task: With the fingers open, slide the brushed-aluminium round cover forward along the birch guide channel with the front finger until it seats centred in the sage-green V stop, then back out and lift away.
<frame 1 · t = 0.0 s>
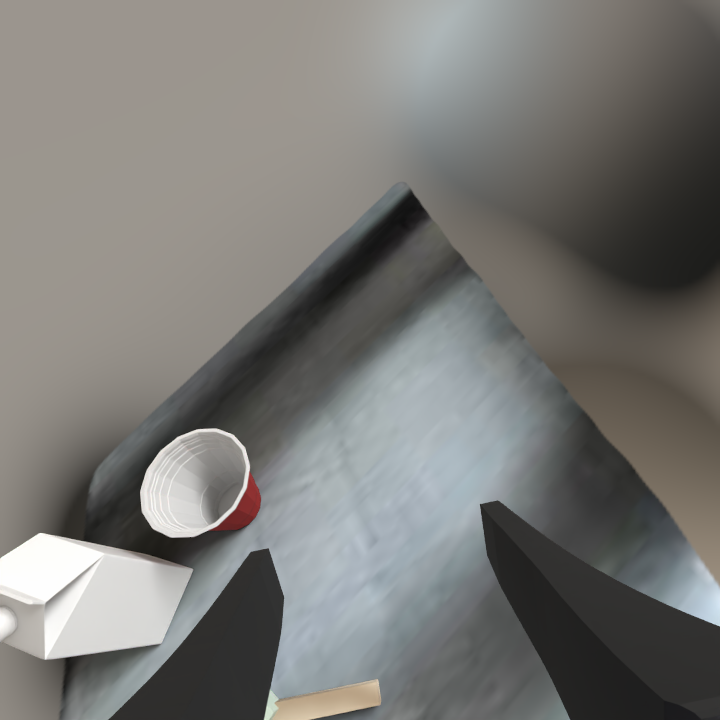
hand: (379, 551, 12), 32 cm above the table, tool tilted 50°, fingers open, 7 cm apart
milk carton: (154, 595, 41), on the table
plastic cup: (241, 505, 45), on the table
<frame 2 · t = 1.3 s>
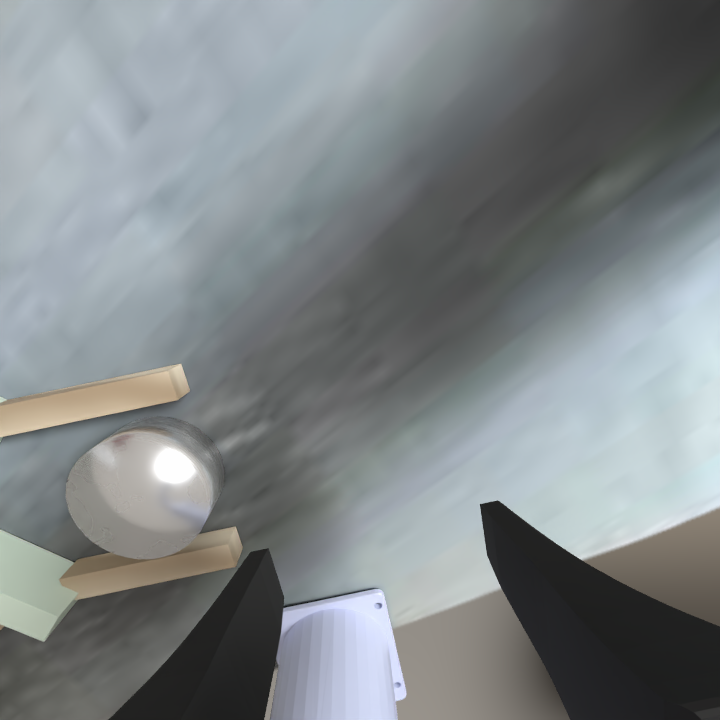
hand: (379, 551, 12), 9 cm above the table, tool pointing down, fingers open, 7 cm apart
aluminium cover: (165, 470, 21), on the table
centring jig: (47, 496, 21), on the table
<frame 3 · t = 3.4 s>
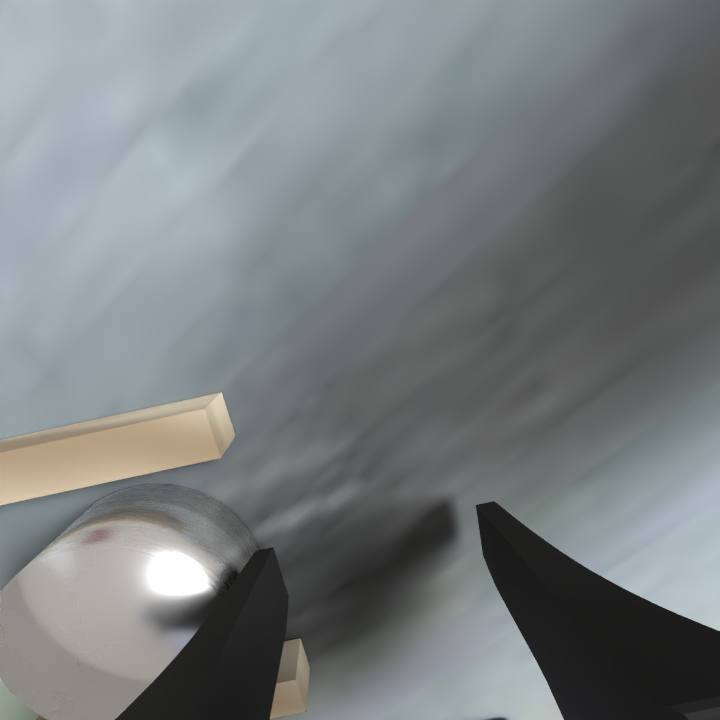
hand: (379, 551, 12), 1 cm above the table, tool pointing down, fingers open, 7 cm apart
aluminium cover: (166, 567, 13), on the table, touching gripper
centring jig: (7, 601, 13), on the table
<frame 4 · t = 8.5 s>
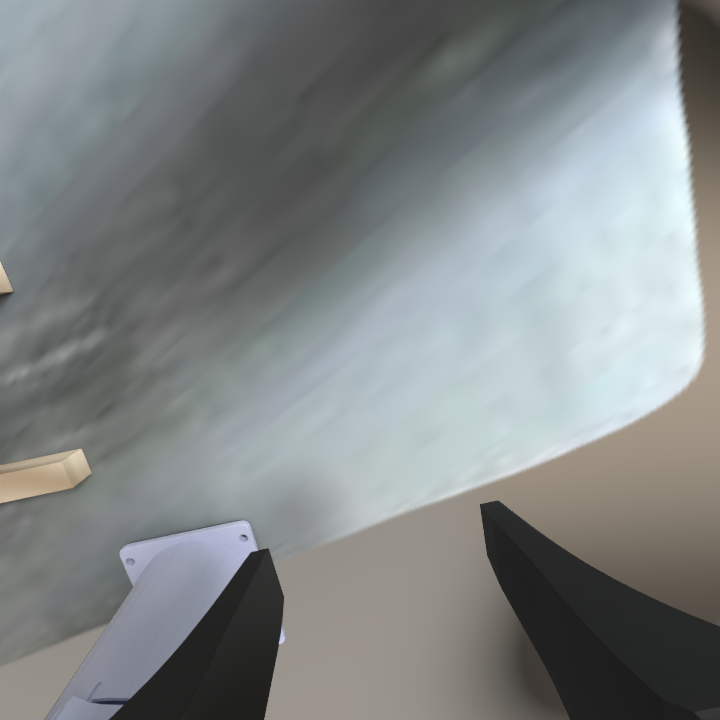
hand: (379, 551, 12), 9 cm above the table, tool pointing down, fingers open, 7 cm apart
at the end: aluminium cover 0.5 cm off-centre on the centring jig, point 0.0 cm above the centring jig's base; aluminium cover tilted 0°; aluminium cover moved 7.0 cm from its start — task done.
